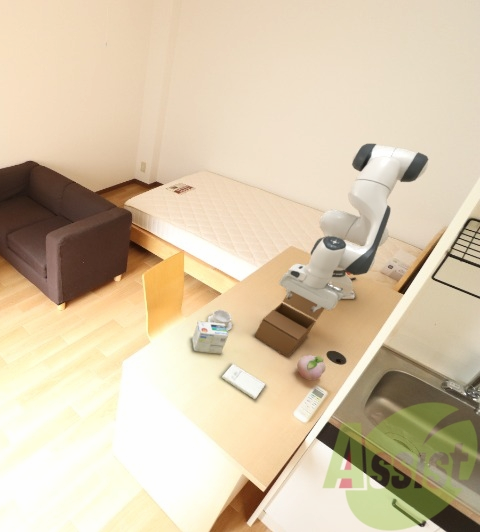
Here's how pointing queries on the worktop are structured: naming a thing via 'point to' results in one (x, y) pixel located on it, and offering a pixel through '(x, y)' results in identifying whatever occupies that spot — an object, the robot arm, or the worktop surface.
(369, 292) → the worktop surface
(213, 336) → the light bulb box
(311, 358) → the decorative fruit
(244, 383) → the hard drive
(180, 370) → the worktop surface
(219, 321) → the teacup
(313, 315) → the flap
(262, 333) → the carton
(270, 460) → the worktop surface
